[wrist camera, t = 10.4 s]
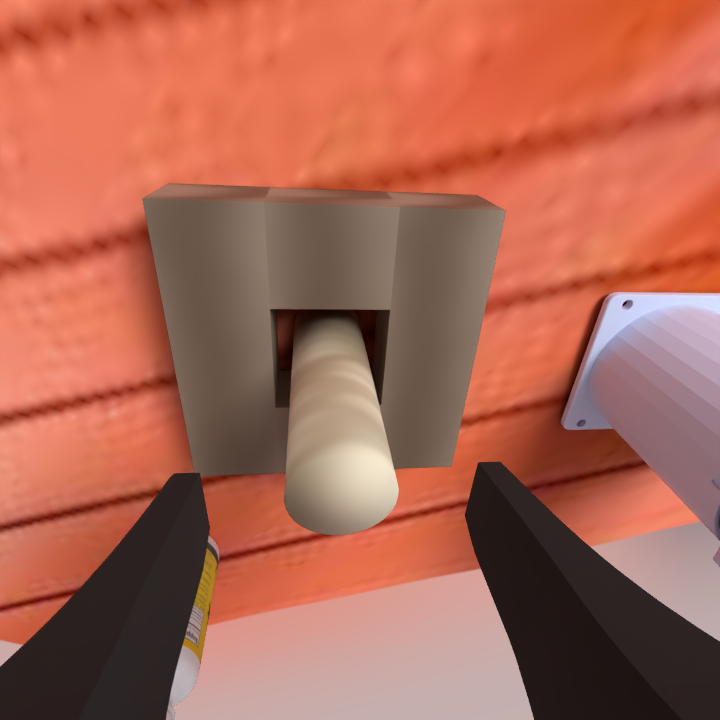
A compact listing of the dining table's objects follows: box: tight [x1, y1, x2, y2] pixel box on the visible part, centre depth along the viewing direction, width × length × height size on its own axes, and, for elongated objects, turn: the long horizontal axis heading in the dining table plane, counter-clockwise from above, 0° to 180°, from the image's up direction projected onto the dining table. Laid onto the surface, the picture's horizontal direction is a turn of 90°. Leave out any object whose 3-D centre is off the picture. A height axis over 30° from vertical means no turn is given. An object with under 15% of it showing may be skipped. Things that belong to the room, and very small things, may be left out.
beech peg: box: [284, 309, 399, 535], centre depth 16 cm, size 3×3×10 cm
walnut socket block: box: [142, 183, 506, 476], centre depth 19 cm, size 12×12×3 cm
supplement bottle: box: [166, 536, 219, 720], centre depth 22 cm, size 5×5×10 cm
